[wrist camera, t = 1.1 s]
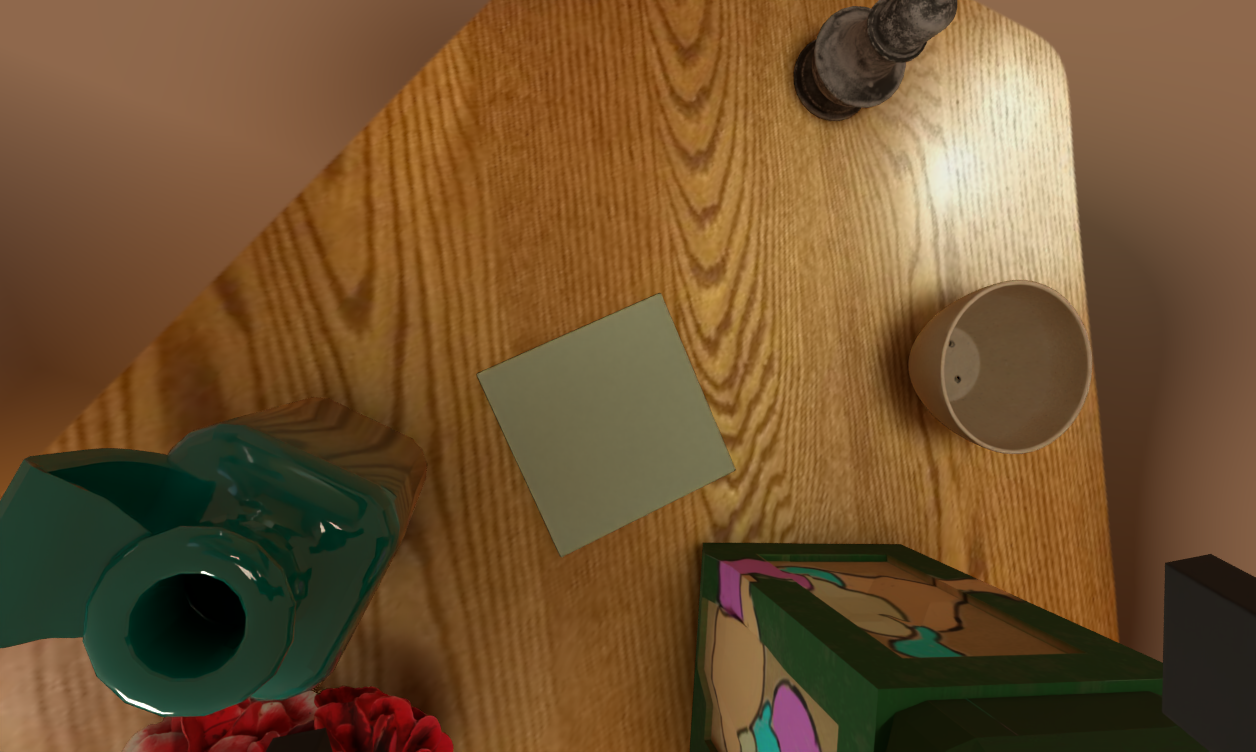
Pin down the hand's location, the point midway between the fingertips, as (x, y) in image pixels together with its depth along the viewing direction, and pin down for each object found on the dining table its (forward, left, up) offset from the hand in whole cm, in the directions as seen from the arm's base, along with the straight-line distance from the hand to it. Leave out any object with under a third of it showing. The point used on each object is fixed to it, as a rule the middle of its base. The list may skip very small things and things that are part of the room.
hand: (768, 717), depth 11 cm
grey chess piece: (-14, +26, -33) cm, 44 cm away
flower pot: (+6, +26, -33) cm, 43 cm away
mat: (0, +4, -33) cm, 33 cm away
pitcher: (-4, -12, -33) cm, 35 cm away
